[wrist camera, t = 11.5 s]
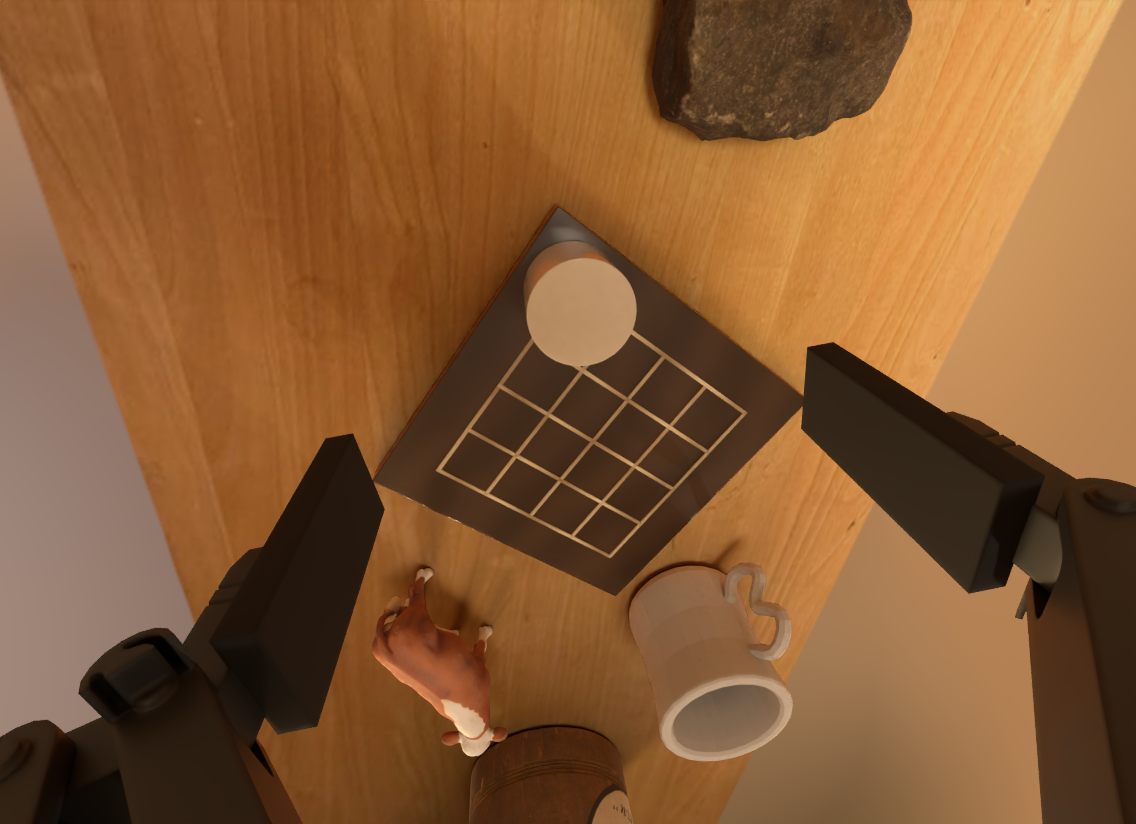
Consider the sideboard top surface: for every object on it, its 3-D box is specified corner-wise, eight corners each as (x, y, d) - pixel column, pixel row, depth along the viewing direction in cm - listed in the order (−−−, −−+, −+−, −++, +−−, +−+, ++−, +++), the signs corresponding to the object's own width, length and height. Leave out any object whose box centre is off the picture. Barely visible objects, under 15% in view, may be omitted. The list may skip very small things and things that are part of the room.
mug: (691, 651, 46) (736, 774, 37) (605, 622, 43) (631, 748, 34) (783, 553, 41) (860, 666, 32) (695, 514, 38) (752, 625, 29)
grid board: (375, 471, 34) (371, 483, 32) (556, 202, 27) (558, 205, 26) (612, 584, 41) (616, 598, 40) (799, 392, 34) (809, 401, 33)
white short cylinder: (504, 302, 28) (504, 328, 24) (560, 220, 27) (570, 233, 23) (580, 352, 30) (592, 385, 26) (637, 278, 28) (659, 301, 24)
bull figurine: (472, 673, 44) (466, 778, 37) (376, 572, 38) (346, 674, 30) (518, 654, 43) (521, 756, 36) (428, 548, 37) (410, 646, 30)
